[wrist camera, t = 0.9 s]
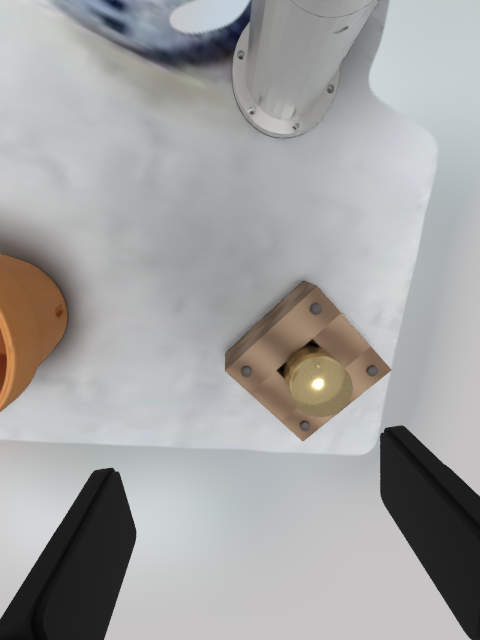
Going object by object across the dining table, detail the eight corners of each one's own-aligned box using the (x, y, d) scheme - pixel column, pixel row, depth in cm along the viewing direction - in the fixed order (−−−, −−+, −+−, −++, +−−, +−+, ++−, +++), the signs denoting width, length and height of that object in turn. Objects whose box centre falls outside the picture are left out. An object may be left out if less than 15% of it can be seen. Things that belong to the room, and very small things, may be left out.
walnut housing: (303, 280, 38) (318, 286, 32) (368, 353, 41) (393, 371, 35) (225, 353, 40) (224, 372, 34) (293, 416, 44) (303, 444, 38)
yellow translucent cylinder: (302, 324, 39) (327, 350, 29) (331, 355, 40) (364, 390, 30) (267, 355, 40) (280, 391, 30) (297, 384, 41) (318, 427, 31)
